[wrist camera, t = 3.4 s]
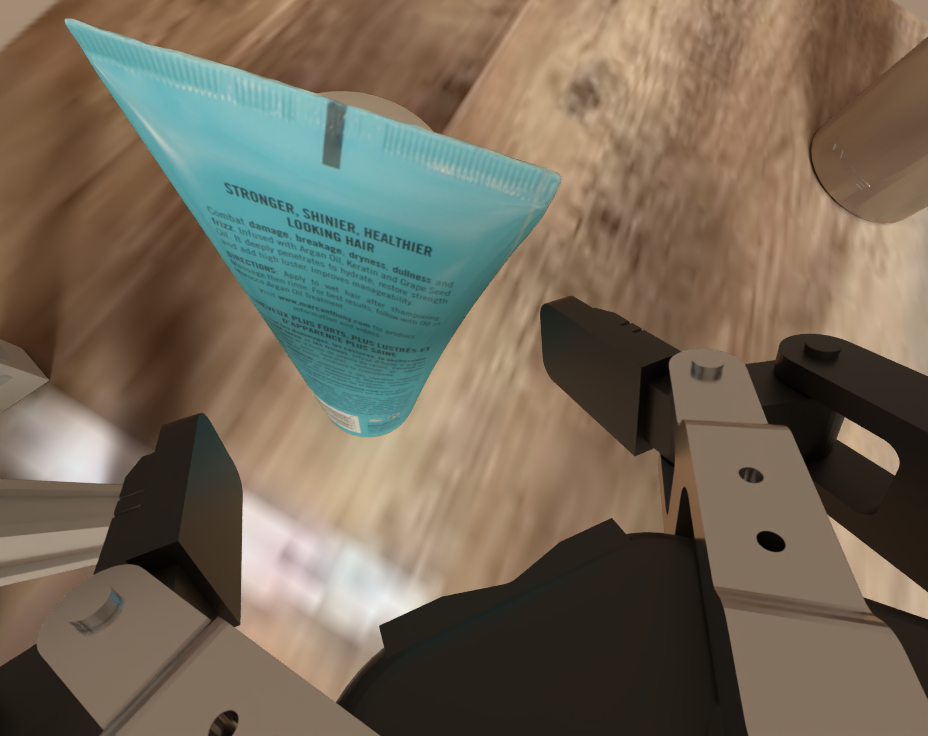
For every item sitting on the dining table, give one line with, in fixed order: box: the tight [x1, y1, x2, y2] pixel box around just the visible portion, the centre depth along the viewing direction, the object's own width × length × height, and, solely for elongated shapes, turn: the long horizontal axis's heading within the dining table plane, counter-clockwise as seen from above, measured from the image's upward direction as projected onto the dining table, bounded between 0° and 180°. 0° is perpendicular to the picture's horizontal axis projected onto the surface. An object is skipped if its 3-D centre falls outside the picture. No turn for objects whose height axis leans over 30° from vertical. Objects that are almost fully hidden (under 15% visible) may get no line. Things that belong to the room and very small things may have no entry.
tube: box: [65, 18, 561, 437], centre depth 16 cm, size 7×5×19 cm, turn 82°
